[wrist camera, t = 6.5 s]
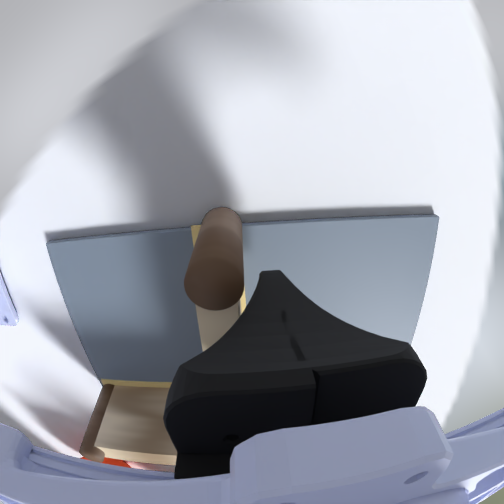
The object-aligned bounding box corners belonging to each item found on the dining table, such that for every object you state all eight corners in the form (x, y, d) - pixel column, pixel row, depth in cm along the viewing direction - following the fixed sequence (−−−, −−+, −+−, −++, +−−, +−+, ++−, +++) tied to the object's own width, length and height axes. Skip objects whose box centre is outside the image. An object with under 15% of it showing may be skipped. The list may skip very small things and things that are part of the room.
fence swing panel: (249, 383, 16) (252, 453, 12) (220, 383, 16) (217, 454, 12) (241, 206, 12) (243, 256, 8) (200, 208, 12) (180, 259, 8)
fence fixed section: (108, 397, 17) (87, 461, 12) (98, 379, 16) (73, 445, 12) (252, 400, 17) (256, 474, 13) (250, 381, 17) (254, 459, 12)
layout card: (129, 427, 19) (128, 432, 19) (48, 237, 13) (43, 240, 12) (383, 410, 19) (385, 415, 19) (435, 210, 13) (440, 213, 13)
